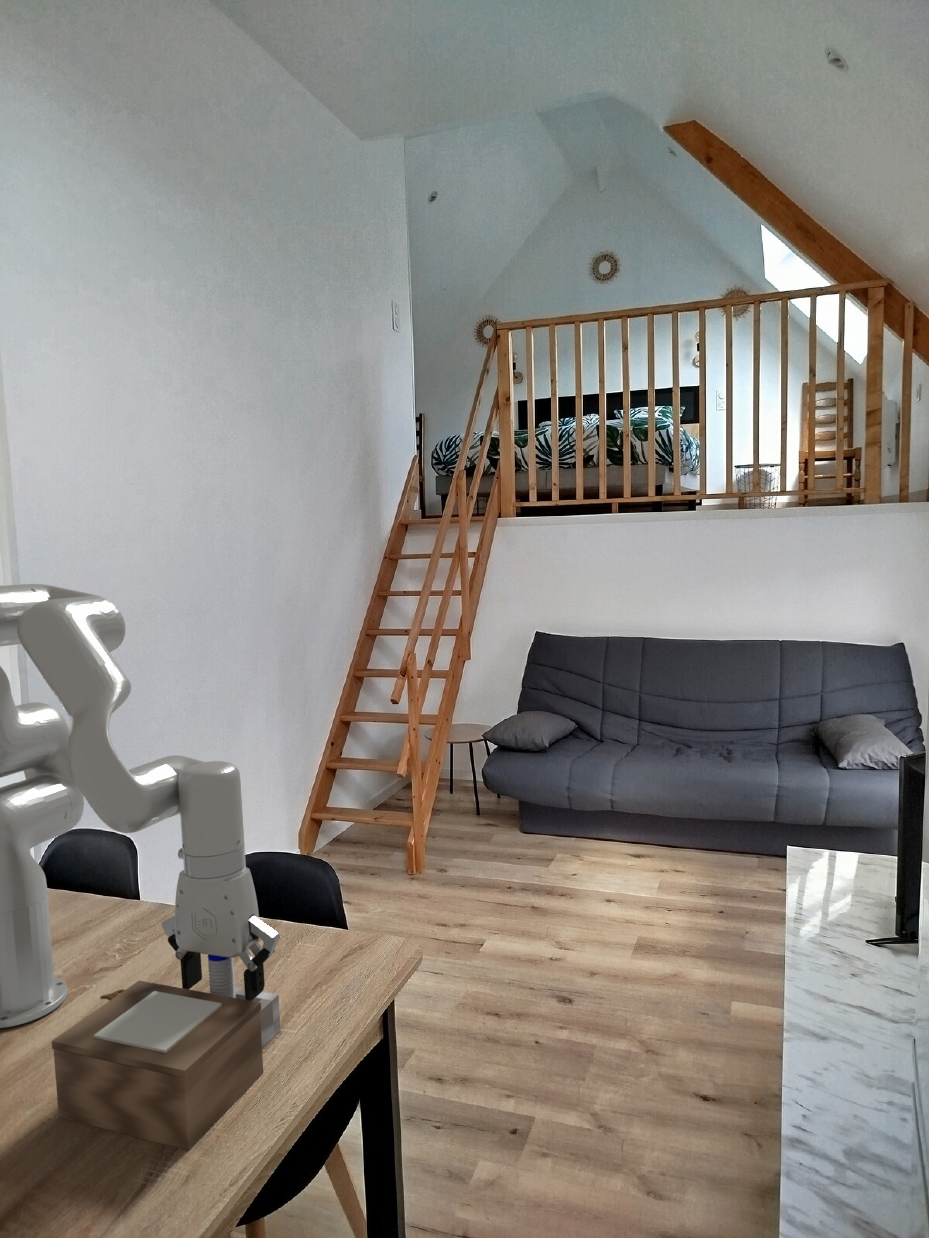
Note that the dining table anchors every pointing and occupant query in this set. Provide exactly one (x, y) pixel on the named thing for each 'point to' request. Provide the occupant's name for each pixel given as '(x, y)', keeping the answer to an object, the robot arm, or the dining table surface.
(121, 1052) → the wooden box
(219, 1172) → the dining table surface
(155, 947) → the dining table surface
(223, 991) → the bolt
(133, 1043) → the lid mat
